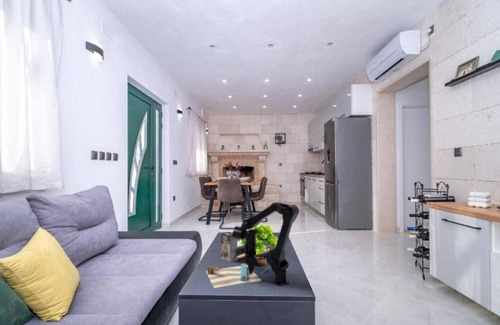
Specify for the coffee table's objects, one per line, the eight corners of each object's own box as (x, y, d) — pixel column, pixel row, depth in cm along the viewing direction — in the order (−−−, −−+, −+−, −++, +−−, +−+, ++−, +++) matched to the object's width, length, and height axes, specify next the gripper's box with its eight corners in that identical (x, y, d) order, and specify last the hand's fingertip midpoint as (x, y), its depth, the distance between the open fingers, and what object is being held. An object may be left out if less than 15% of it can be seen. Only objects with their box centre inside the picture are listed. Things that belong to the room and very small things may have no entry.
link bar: (246, 280, 127) (246, 276, 127) (240, 280, 127) (240, 276, 127) (246, 266, 145) (246, 262, 145) (241, 266, 145) (241, 263, 145)
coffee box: (220, 259, 160) (220, 233, 161) (229, 256, 165) (228, 231, 165) (229, 262, 153) (229, 235, 154) (237, 260, 158) (237, 234, 158)
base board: (261, 281, 128) (261, 279, 128) (214, 289, 120) (214, 287, 120) (247, 266, 148) (247, 265, 148) (205, 272, 139) (205, 271, 139)
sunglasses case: (269, 266, 147) (263, 256, 147) (259, 272, 147) (252, 262, 147) (266, 255, 165) (261, 246, 165) (257, 261, 165) (251, 252, 165)
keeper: (219, 274, 135) (219, 267, 135) (216, 276, 133) (216, 269, 133) (210, 271, 138) (210, 265, 138) (207, 273, 136) (207, 267, 136)
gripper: (236, 236, 146) (236, 264, 146) (234, 246, 128) (234, 278, 127) (255, 236, 146) (256, 263, 146) (256, 246, 128) (257, 278, 127)
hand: (250, 270), depth 137 cm, fingers open, 9 cm apart
